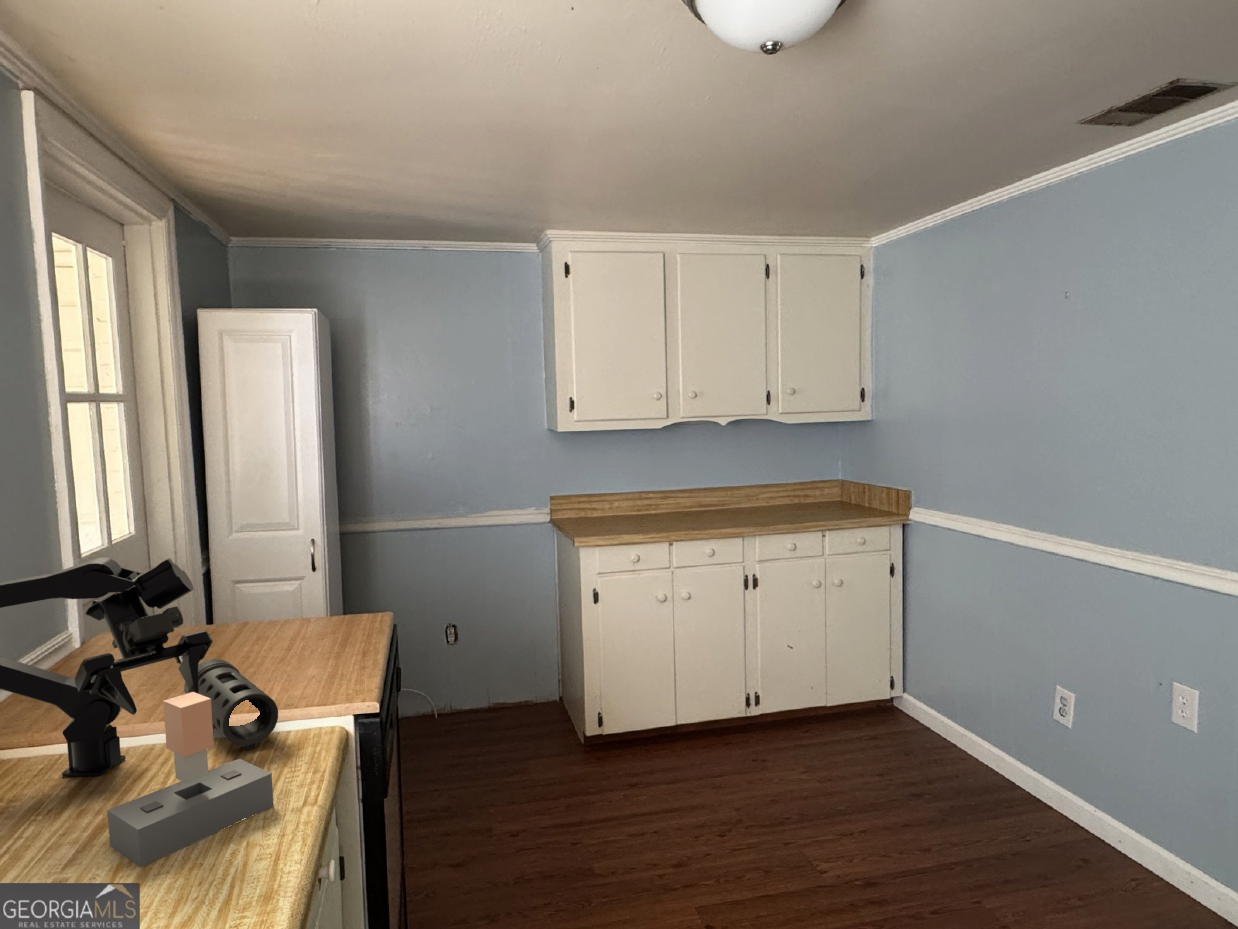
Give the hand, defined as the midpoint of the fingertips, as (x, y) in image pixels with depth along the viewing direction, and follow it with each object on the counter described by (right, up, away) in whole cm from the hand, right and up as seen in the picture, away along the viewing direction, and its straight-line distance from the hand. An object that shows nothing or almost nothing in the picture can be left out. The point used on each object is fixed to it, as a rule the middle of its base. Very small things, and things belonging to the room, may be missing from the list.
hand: (166, 703), depth 120 cm
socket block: (+12, -13, -13) cm, 22 cm away
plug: (+11, -7, -13) cm, 19 cm away
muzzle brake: (-1, -12, +22) cm, 25 cm away
